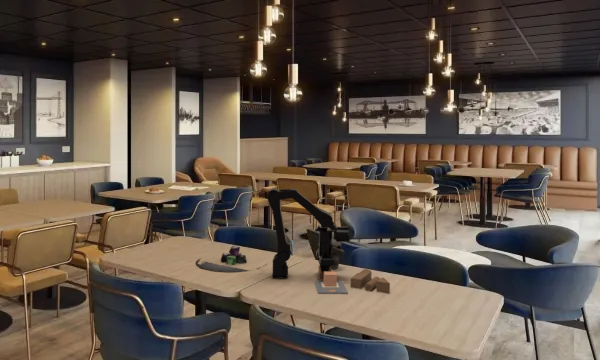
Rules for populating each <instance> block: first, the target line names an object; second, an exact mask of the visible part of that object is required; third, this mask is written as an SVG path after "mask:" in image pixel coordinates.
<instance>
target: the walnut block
mask: <svg viewBox="0 0 600 360" xmlns="http://www.w3.org/2000/svg"><path fill="white" fill-rule="evenodd" d="M328 271H332V269H331V267H329V270H328ZM317 273H318V276H317V277H318V281H323V280H324V276H323V273H322V270H321V267H320V265H318V272H317Z"/></svg>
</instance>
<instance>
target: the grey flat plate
mask: <svg viewBox="0 0 600 360" xmlns="http://www.w3.org/2000/svg"><path fill="white" fill-rule="evenodd" d="M314 285H315V289H316V292H317V294H318V295H327V294H328V295H348V294H349V293H348V290H347V288H346V286H345V284H344V281H343V280H337V286H324V283H323V280H314Z"/></svg>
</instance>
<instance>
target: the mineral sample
mask: <svg viewBox="0 0 600 360" xmlns="http://www.w3.org/2000/svg"><path fill="white" fill-rule="evenodd" d="M240 249H241V247H240V246H235V245H232V246H231V247H230V249H229V251H228V253H226V252H223V253H222V255H221V257H220V261H221V262H222V263H227V265H228V266H227V265H224V264H217V263H213V262H209V261H205V260H202V262H200V261H201V258H199V259H197V260H196V261H195V265H196V266H197V267H199V268H200V269H202V270H203V269H204V270H207V271H212V272H213V271H214V272H223V273H236V272H237V273H238V272H248V271H250V270H248V269H243V268H238V267H233V266H232V265H237V264H247V261H248V260H247V256H246V254H242V252H240ZM265 266H266V264H264V265H263V267H265ZM260 268H262V267H260V266H259V267H257V268H256V270H258V269H259V270H260Z"/></svg>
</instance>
